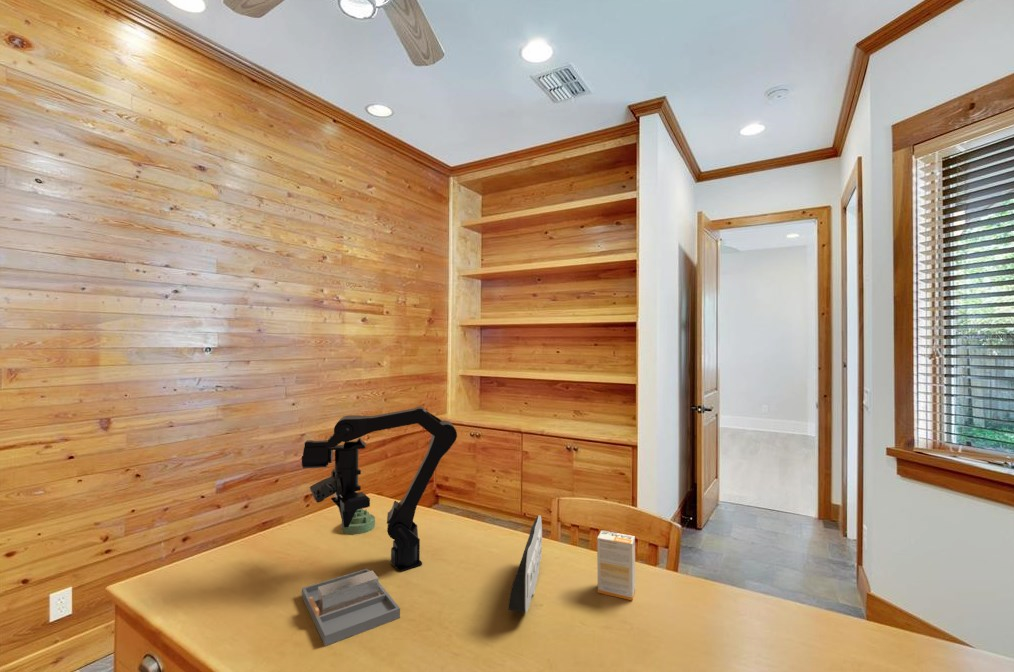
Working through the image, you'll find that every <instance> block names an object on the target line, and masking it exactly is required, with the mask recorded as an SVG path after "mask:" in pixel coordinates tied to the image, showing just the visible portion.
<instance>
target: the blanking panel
mask: <svg viewBox="0 0 1014 672" xmlns="http://www.w3.org/2000/svg"><path fill="white" fill-rule="evenodd" d="M379 578H380V577H379V576H377V574H376V573H375V572H374V570H373V569H372V570H369V572H366V573H362V574H359V575H356V576H352V577H349V578H346V579H343V580H339V581H336V582H333V583H329V584H326V585H323V586H320V587H318V609H319V611H320V613H321V615H323V614H326V613H329V612H332V611H335V610H338V609H341V608H344V607H347V606H350V605H353V604H356V603H359V602H362V601H365V600H367V599H370V598H373V597H376V596H378V593H379V583H380V581H379V580H380V579H379Z"/></svg>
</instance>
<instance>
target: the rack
mask: <svg viewBox="0 0 1014 672" xmlns="http://www.w3.org/2000/svg"><path fill="white" fill-rule="evenodd" d="M369 571H370V569H369V568H364V569H361V570H357V571H354V572H352V573H348V574H345V575H341V576H338V577H334V578H331V579H327V580H324V581H321V582H317V583H315V584H311V585H307V586H304V587H301V598H302V600H303V602H304V604H305V606H307V607H306V609H307V611H308V613H309V615H310V617H311V619H312V621H313V623H314V626H315V629H316V630H317V633H318V634H319V636H320V639H321V641H322V643H323V644H324V645H323V646H324V647H327V646H330V645H333V644H336V643H338V642H341V641H344V640H346V639H349V638H351V637H353V636H356V635H359V634H361V633H364V632H366V631H369V630H372V629H374V628H377V627H379V626H383V625H385V624H387V623H390V622H392V621H395V620H398V619H400V618H401V608H400V606H399V605H398V604H397V603H396V601H395V600H394V599H393V598H392V596H391V595H390V594H389V593H388V591H387V590H386V588H384V587H383V585H382V584H381V583H380V582H379V593H378V596H376V597H373V598H370V599H367V600H365V601H362V602H359V603H356V604H353V605H350V606H347V607H344V608H341V609H338V610H335V611H332V612H329V613H326V614H323V615H321V613H320V611H319V609H318V587H320V586H323V585H326V584H329V583H333V582H336V581H339V580H343V579H346V578H349V577H352V576H356V575H359V574H362V573H366V572H369Z"/></svg>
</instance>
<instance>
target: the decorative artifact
mask: <svg viewBox="0 0 1014 672" xmlns="http://www.w3.org/2000/svg"><path fill="white" fill-rule="evenodd" d="M375 527H376V517H375V515H373V514H371V513H370V512H369V511H368V510H367V509H364V508H363V509H358V510H356V512H355V514H354V516H353V518H352V520H351V523H350V525H349V527H346V528H344V527H343V523H342V522H341V532H342V533H344V534H347V535H361V534H366V533H368V532H371V531H372V530H374V529H375Z"/></svg>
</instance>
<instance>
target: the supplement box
mask: <svg viewBox="0 0 1014 672" xmlns="http://www.w3.org/2000/svg"><path fill="white" fill-rule="evenodd" d="M635 537H636V536H635V535H629V534H625V533H624V534H623V533H618V532H612V531H608V530H600V533H598V536H597V537H596V542H597V543H596V544H597V552H596V553H597V554H596V555H597V559H596V560H597V561H596V562H597V567H596V568H597V593H598V594H603V595H607V596H612V597H616V598H619V599H620V598H621V599H625V600H628V601H633V599H634V596H635V593H636V538H635Z"/></svg>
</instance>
